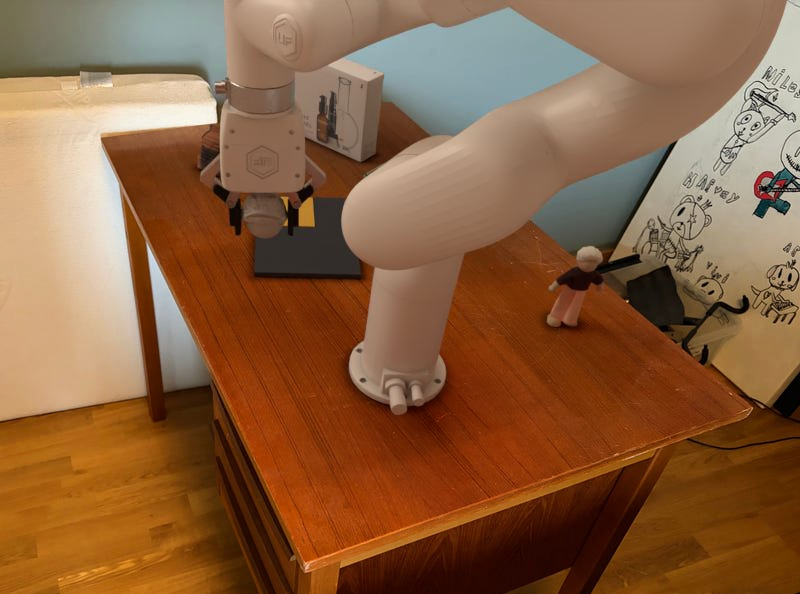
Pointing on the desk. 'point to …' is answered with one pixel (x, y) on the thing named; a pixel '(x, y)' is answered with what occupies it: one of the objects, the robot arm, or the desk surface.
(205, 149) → the pottery mug
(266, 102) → the robot arm
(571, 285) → the grandmother figurine
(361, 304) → the desk surface
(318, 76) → the white product box
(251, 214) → the carved stone head
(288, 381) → the desk surface
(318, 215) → the desk mat
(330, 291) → the desk surface
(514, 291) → the desk surface
